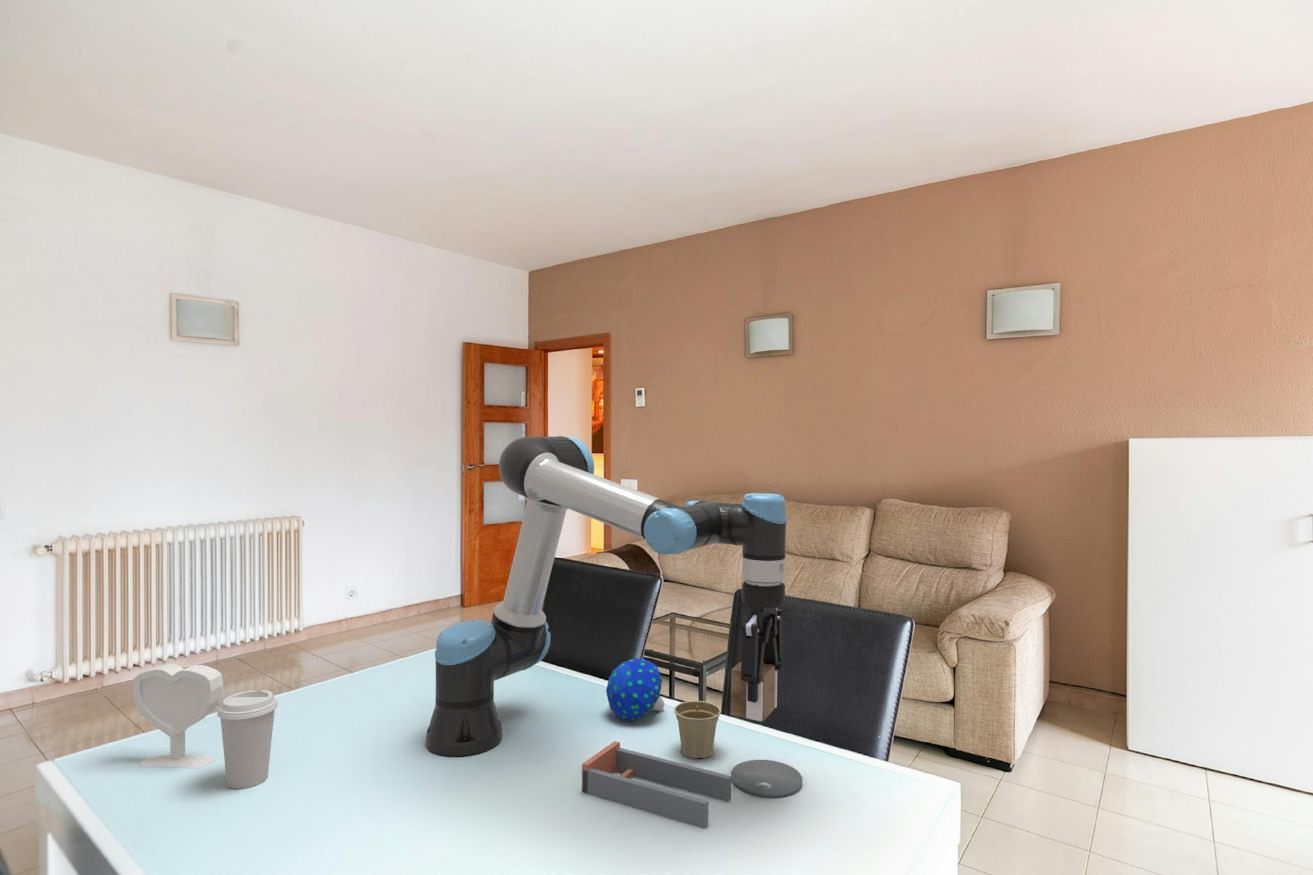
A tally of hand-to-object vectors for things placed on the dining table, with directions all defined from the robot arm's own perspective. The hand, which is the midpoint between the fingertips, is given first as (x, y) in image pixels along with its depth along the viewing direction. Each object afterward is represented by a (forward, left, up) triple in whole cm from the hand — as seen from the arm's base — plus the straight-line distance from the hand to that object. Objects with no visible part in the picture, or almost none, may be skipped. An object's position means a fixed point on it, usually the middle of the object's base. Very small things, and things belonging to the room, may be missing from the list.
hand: (761, 712), depth 125 cm
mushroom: (-37, +20, -15) cm, 45 cm away
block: (-2, 0, 0) cm, 2 cm away
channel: (-16, -9, -15) cm, 24 cm away
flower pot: (-17, +10, -15) cm, 25 cm away
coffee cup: (-83, -41, -15) cm, 94 cm away
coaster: (-1, +6, -15) cm, 16 cm away
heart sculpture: (-102, -43, -15) cm, 112 cm away
